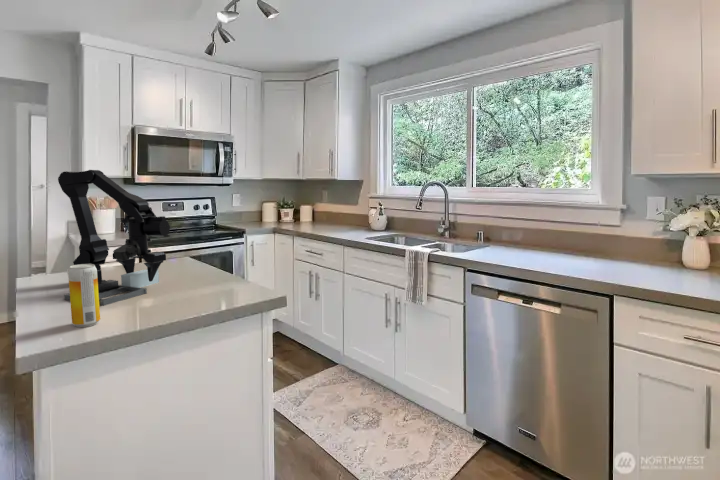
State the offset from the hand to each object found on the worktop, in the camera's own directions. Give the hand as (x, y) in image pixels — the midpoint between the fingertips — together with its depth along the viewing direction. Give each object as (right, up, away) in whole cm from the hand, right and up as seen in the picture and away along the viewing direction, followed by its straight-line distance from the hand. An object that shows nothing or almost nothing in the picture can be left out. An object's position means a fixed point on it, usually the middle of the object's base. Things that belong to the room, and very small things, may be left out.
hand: (140, 280), depth 150 cm
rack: (-3, -4, -15) cm, 16 cm away
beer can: (+7, -8, -40) cm, 42 cm away
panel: (0, -2, 0) cm, 2 cm away
